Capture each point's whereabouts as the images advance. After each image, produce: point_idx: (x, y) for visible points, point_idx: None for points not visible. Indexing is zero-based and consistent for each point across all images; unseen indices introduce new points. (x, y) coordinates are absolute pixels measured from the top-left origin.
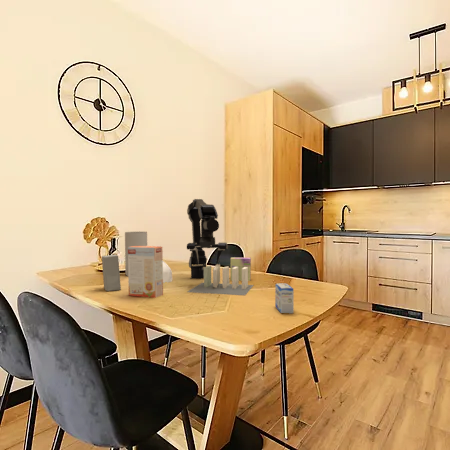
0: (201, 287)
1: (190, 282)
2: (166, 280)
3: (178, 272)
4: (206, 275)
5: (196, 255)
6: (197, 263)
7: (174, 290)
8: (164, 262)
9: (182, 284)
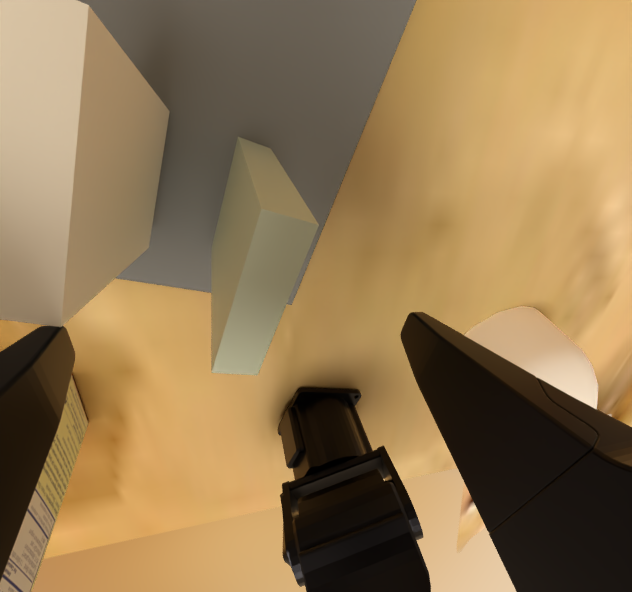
0: (294, 124)
1: (363, 327)
2: (493, 327)
3: None
4: (257, 170)
5: (559, 415)
6: (426, 317)
7: (515, 77)
8: None
9: (416, 277)
